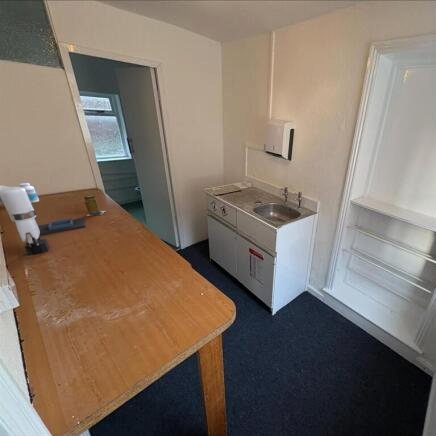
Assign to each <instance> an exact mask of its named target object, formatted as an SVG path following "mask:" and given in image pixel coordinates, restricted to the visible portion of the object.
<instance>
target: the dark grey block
mask: <svg viewBox="0 0 436 436" xmlns="http://www.w3.org/2000/svg"><path fill="white" fill-rule="evenodd" d="M33 242H35V241H33ZM38 243H39V245H40V246H41V248H42V250H43V252H42V253H46V252H49V250H50V244H49V243H48V240H47V238H43V239H42V238H41V240H38ZM24 249H25V250H26V251H25V252H26V253H27V255H28V256H32V255H34V254H33V253H32V250H31V248H30V246H29V243H28V241H26V242H25V244H24Z"/></svg>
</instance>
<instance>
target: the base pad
mask: <svg viewBox="0 0 436 436" xmlns="http://www.w3.org/2000/svg"><path fill="white" fill-rule="evenodd" d="M38 228H39V230H40V235H39V236H40V237H42V236H46V235H50V234H56V233H57V234H58V233H62V232H67V231H72V230H78V229H82V228H83V229H84V228H86V219H85V217H80V218H74V219H73V218H66V219H60V220H55V221H49V223H45V224H40V225H38Z"/></svg>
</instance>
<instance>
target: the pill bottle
mask: <svg viewBox="0 0 436 436" xmlns="http://www.w3.org/2000/svg"><path fill="white" fill-rule="evenodd" d="M18 185H19V187H22V188H24V189H25V191H26V193H27V195H28V197H29V200H30V202H31V204H35V203H36V204H37V203H38V202H40V198H39V196H38V193H37V192H36V189H35V187H34V186H33V185H31V184H30V182H22V183H19V184H18Z"/></svg>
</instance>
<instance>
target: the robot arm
mask: <svg viewBox="0 0 436 436" xmlns="http://www.w3.org/2000/svg"><path fill="white" fill-rule="evenodd" d="M0 205H4V207H5V209H6V212H7V214H8V216H9V218H10V220H11V221H12V222H14V223H15V226H16V229H17V232H18V235H19V237H20V240H21V242H22V243H26V242H28V243H29V246H30V248H31V250H32V253H33V255H38V254H43V253H44V252H43V250H42V248H41V246H40V245H39V243H38V240H42V238H41V236H39V235H40V230H39V228H38V226H39V225H38V223H37V221H36V219H35V218H36V217H37V214H36V211H35V209H34V207H33V203H31V202H30V200H29V197H28V195H27V193H26V191H25V189H24V188H22V187H21V186H6V185H0ZM33 241H35V242H33Z"/></svg>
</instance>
